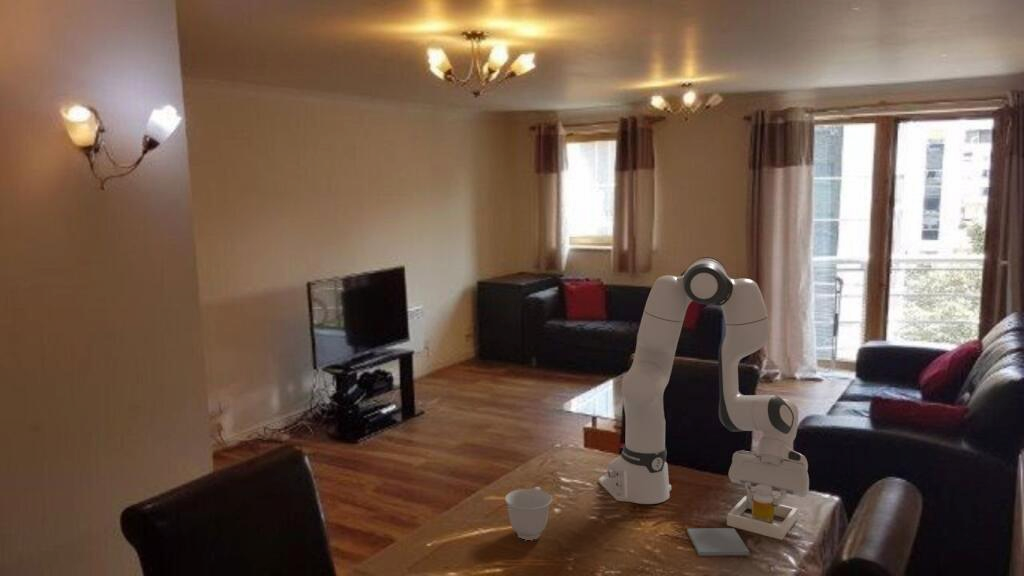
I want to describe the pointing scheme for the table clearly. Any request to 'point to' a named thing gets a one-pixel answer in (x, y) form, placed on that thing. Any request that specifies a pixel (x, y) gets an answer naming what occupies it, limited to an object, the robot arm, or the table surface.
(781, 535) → the bin
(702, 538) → the pad
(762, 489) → the supplement bottle
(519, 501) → the teacup
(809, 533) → the table surface
